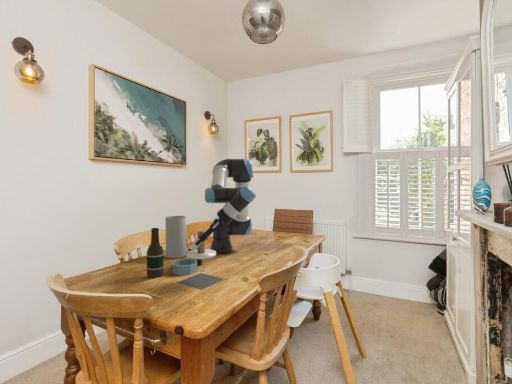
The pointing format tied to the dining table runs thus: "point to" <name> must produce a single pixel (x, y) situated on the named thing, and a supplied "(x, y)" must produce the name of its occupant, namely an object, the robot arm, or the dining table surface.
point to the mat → (200, 281)
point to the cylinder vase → (175, 236)
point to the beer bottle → (155, 256)
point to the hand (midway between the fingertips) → (193, 248)
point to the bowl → (184, 267)
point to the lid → (201, 250)
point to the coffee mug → (199, 261)
